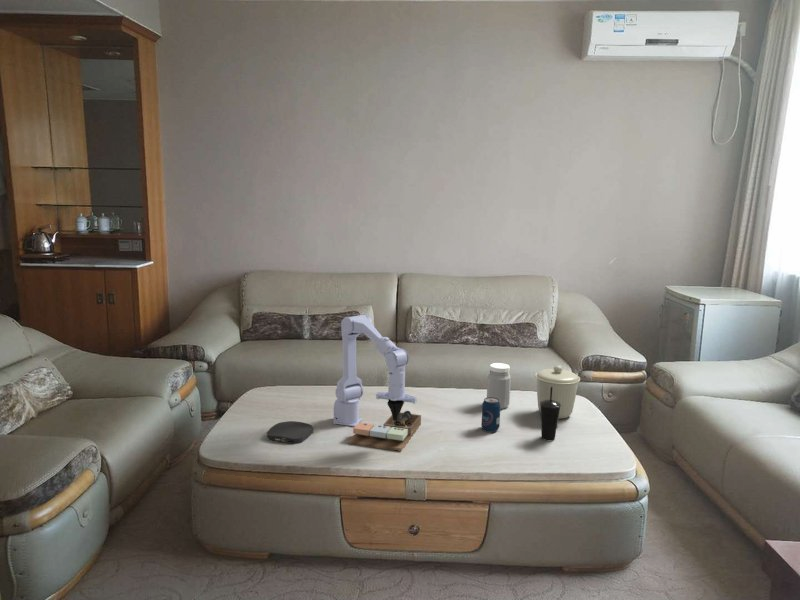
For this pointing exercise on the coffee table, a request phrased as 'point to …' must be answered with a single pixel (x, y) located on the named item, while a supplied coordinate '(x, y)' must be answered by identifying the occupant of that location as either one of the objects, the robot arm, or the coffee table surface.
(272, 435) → the media streaming box
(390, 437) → the tile
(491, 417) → the soda can
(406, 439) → the board
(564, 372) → the canister
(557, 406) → the drinking cup
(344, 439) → the coffee table surface
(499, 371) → the jar
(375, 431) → the tile
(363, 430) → the tile
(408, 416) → the eagle figurine
